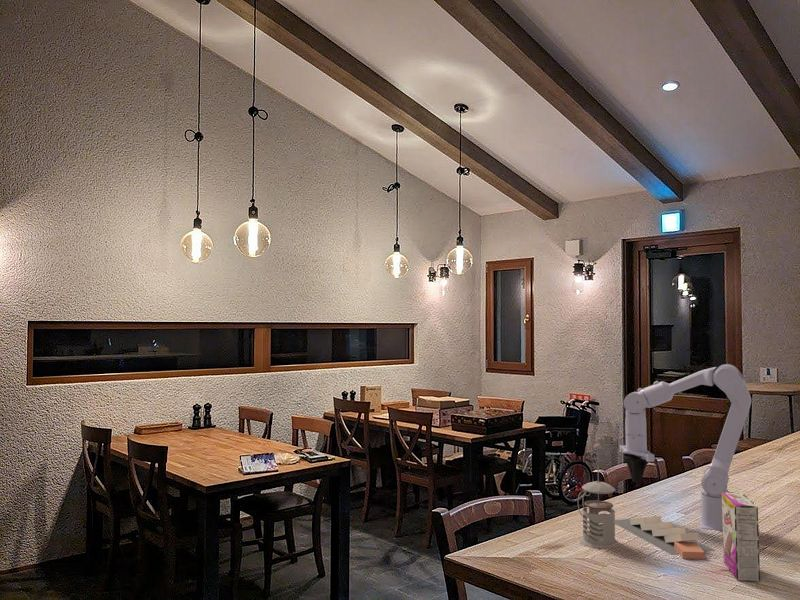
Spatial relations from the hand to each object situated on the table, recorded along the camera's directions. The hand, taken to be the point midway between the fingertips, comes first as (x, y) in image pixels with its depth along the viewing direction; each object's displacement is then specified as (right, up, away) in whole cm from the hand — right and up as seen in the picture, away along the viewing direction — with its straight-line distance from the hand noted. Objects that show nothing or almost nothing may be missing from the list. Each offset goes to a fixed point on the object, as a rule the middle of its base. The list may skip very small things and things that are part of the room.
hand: (636, 482), depth 192 cm
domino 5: (+2, -8, -28) cm, 29 cm away
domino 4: (+1, -8, -23) cm, 24 cm away
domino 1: (-2, -9, -8) cm, 12 cm away
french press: (-18, -10, -21) cm, 29 cm away
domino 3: (0, -8, -18) cm, 20 cm away
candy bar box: (+8, -9, -42) cm, 44 cm away
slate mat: (0, -9, -17) cm, 19 cm away
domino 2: (-1, -8, -13) cm, 15 cm away
